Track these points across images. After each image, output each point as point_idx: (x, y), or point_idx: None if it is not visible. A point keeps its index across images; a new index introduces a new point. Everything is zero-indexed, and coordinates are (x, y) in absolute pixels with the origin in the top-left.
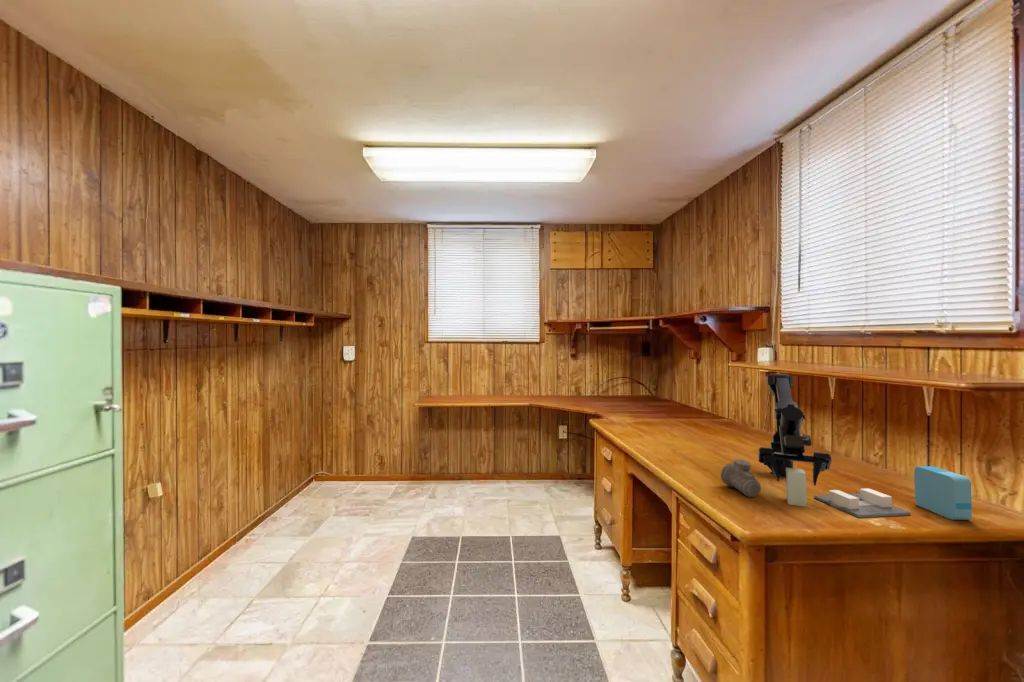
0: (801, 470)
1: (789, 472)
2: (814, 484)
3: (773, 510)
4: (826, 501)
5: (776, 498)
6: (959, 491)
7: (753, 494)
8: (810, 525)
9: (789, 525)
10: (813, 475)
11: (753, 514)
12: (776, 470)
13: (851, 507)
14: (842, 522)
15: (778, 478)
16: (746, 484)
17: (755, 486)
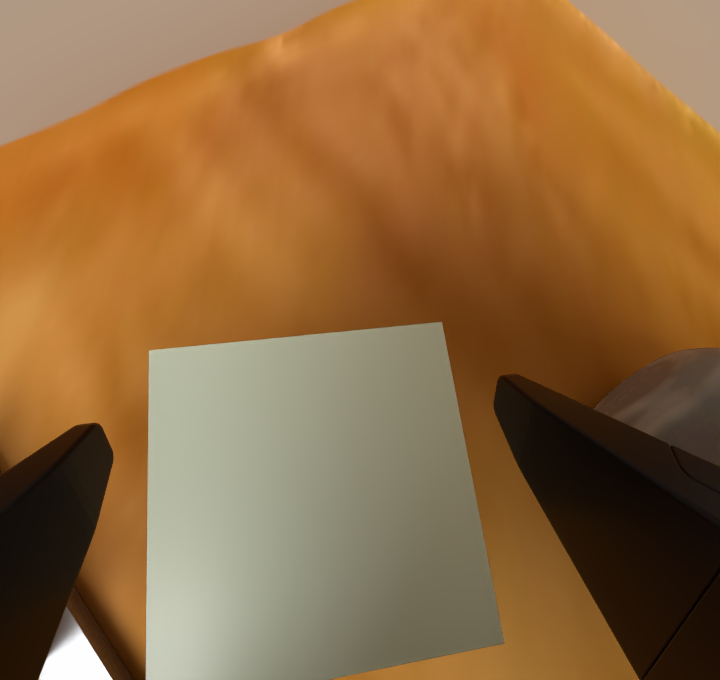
0: (200, 560)
1: (412, 329)
2: (102, 432)
3: (443, 231)
4: (74, 612)
5: None
6: None
7: (604, 397)
8: (263, 109)
9: (357, 69)
10: (12, 592)
11: (522, 125)
12: (605, 432)
13: None
14: (78, 229)
15: (513, 378)
16: (714, 349)
17: (642, 390)
